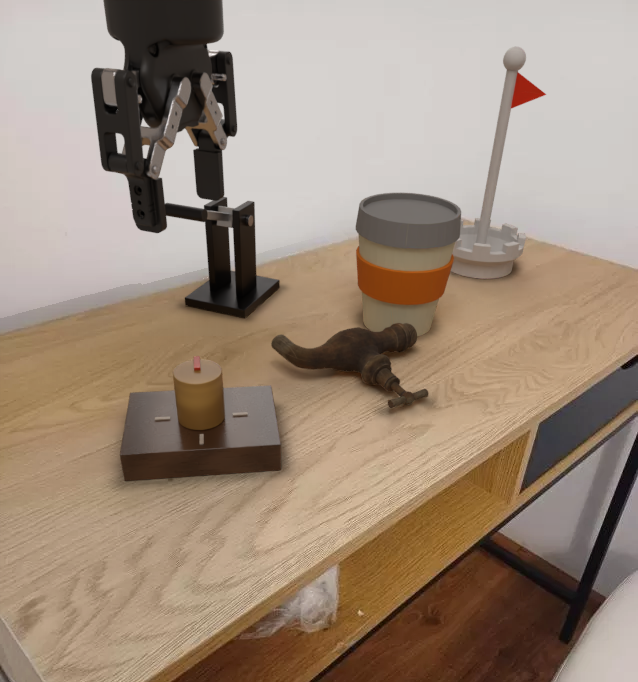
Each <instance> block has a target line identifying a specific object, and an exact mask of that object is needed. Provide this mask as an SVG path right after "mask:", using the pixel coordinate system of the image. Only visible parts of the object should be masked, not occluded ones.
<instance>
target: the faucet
mask: <svg viewBox="0 0 638 682" xmlns="http://www.w3.org/2000/svg"><path fill="white" fill-rule="evenodd" d="M417 342H418V337H417V332H416V329H415V328H414V327H413V326H412V325H411V324H408V323H404V324H402V323H395V324H392V325H391V326H390V327H387V328H385V329H384V330H383V331H380V332H373V331H371V330H369V329H366V328H363V327H359V326H358V327H350V328H347V329H344V330H340V331H338V332H336V333H334V335H332V336H331V337H330V338H329V339H327V340H326V341H325V342H324V343H323V344H321V345H319V346H316V347H312V348H311V347H309V348H308V347H307V348H306V347H303V346H300V345H298V344H296V343H294V342H293V341H292V340H290V339H289V338H288V337H287V336H286V335H285V334H277V335H276V336H275V337H273V339H272V340H271V343H270V344H271V345H270V346H271V348H272V349H273V350H274V351H275V352H276V353H278V354H279V355H280V356H281V357H282V358H283V359H285V360H286V362H288V363H290V364H291V365H293V366H294V367H295V368H299V369H303V370H313V371H314V370H324V369H327V370H329V369H330V370H335V371H339V372H346V373H352V372H355V373H359V374H360V375H361V380H362V381H363V383H365V384H366V385H371V386H373V385H375V386H381V387H382V388H383V389H384V390H385V391H386V392H388V393H392V392H394V393H395V394H396V395H397V396H398V397H395V398H392V399H388V400H387V406H388V408H389V409H394V408H397V407H400V406H402V405H406V406H411V405H412V404H413V403H414V402H415V401H417V400H421V399H424V398H427V397H429V390H428V389H426V388H423V389H420V390H417V391H414V392H411V391H407V390H406V389H405V388H403V387H402V386H401V385H400V384H401V379H400V378H399V377H398V376H396V374H395V373H394V372H392V370H393V369H392V362H391V359H390V357H389V356H388V355H386V354H384V353H391V354H392V353H404V352H406V351H407V350H409V349H410V348H413V347H414V346H415V345H416V343H417Z"/></svg>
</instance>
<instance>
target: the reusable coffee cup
mask: <svg viewBox="0 0 638 682" xmlns="http://www.w3.org/2000/svg"><path fill="white" fill-rule="evenodd" d="M461 219H462V210H461V207H460V206H459V205H457V204H456V203H454V202H452V201H450V200H447V199H446V198H442V197H438V196H435V195H430V194H423V193H415V192H385V193H378V194H374V195H370V196H367V197H364V198H363V199H361V201H360V202H359V204H358V211H357V216H356V222H355V231H356V233H357V234H358V235H357V236H358V246H357V247H356V249H355V257H356V258H355V259H356V274H357V287H358V289H359V290H360V291H361V305H362V322H363V325H364V326H365V327H366V328H367V330H370V331H373V332H380V331H383V330H384V329H385V328H387V327H390V326H391V325H392V324H395V323H402V324H404V323H408V324H411V325H412V326H413V327H414V328H415V329H416V332H417V338H418V337H420V336H424V335H426V334H427V333H429V331H430V330H431V327H432V324H433V320H434V317H435V313H436V310H437V307H438V303H439V300H440V299H441V298H442V297H443V296H444V294H445V291H446V288H447V286H448V285H447V284H448V281H449V278H450V274H451V268H452V264H453V261H454V257H453V254H452V252H453V249H454V245H455V242H456V241H457V240H458V239H459V237H460V226H461Z"/></svg>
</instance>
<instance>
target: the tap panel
mask: <svg viewBox="0 0 638 682" xmlns="http://www.w3.org/2000/svg"><path fill="white" fill-rule="evenodd" d="M223 389H224V404H225V418H224V420H223V422H222V423H220V424H219V425H218V426H216V427H213V428H210V429H206V430H192V429H188V428H186V427H184V426H182V425H181V424H180V423H179V421H178V416H177V407H176V399H175V390H174V389H173V390H155V391H153V390H152V391H135V392H134V391H133V392H130V393H129V397H128V402H127V408H126V414H125V421H124V427H123V433H122V439H121V444H120V445H121V446H120V451H119V458H120V463H121V468H122V474H123V479H124V481H125V482H128V481H131V482H132V481H142V480H159V479H173V478H186V477H201V476H214V475H229V474H243V473H256V472H271V471H272V472H273V471H274V472H275V471H281V470H282V441H281V436H280V430H279V424H278V423H279V422H278V419H277V418H278V417H277V412H276V406H275V399H274V393H273V387H272V385H251V386H249V385H248V386H231V387H223Z"/></svg>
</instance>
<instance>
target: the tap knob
mask: <svg viewBox="0 0 638 682" xmlns="http://www.w3.org/2000/svg"><path fill="white" fill-rule="evenodd" d="M223 374H224V373H223V368H222V366H221V365H220V363H217V362H216V361H214V360H210V359H205V358H201V356H200V355H197V356H195V355H194V356H193V359H189V360H184V361H182V362H180V363H178V364H177V365H176V366H175V367H174V368H173V369H172V380H173V381H172V382H173V390H175V399H176V407H177V416H178V421H179V423H180V424H181V425H182V426H184V427H186V428H188V429H192V430H206V429H210V428H213V427H216V426H218V425H219V424H220V423H222V422H223V420H224V418H225V404H224V389H223V388H224V376H223Z"/></svg>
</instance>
